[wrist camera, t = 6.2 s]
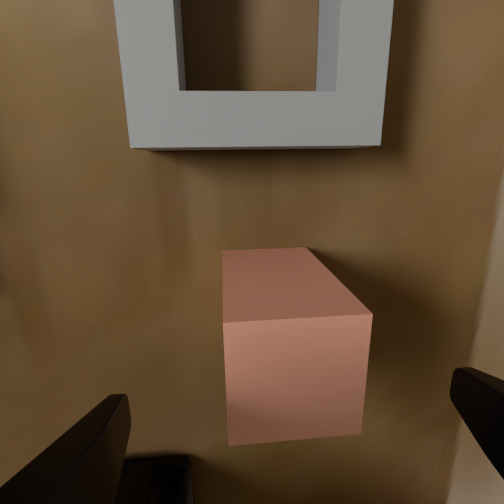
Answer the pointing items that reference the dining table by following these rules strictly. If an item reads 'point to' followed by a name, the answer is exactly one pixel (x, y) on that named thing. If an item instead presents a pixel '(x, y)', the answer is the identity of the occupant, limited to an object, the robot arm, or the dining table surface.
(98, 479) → the robot arm
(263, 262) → the leg peg
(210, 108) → the socket
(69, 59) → the dining table surface
